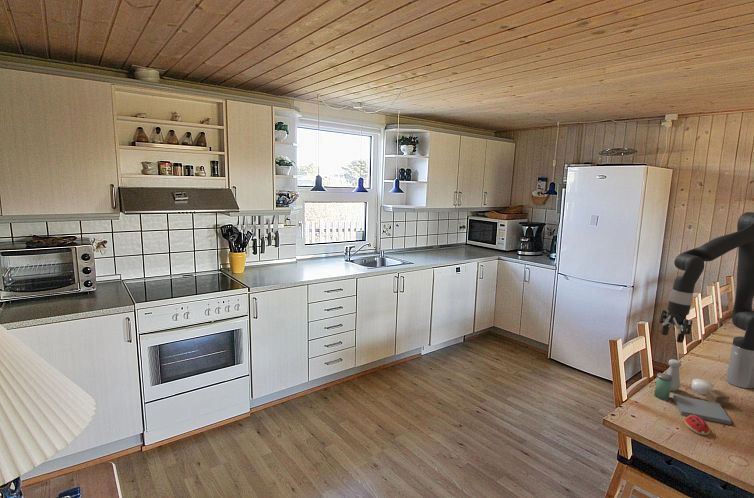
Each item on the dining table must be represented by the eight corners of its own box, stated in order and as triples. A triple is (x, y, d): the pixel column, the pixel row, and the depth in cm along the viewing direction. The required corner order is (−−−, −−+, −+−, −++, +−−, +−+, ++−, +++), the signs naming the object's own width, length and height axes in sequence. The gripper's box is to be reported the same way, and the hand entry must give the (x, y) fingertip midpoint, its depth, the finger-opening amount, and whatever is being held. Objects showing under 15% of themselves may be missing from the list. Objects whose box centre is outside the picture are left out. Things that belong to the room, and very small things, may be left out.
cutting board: (718, 406, 163) (719, 403, 163) (730, 424, 151) (731, 421, 151) (672, 398, 169) (673, 394, 169) (681, 414, 157) (681, 411, 157)
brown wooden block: (718, 399, 169) (720, 390, 168) (727, 406, 164) (729, 397, 163) (705, 399, 169) (707, 390, 168) (714, 405, 164) (716, 396, 163)
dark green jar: (667, 395, 171) (670, 374, 170) (670, 401, 167) (673, 380, 165) (652, 392, 173) (655, 371, 172) (655, 398, 169) (658, 377, 167)
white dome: (709, 389, 177) (710, 380, 176) (714, 397, 170) (716, 388, 170) (689, 385, 179) (690, 377, 179) (693, 393, 173) (695, 384, 172)
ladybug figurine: (699, 422, 153) (701, 413, 153) (715, 438, 144) (716, 429, 143) (679, 419, 155) (680, 410, 154) (693, 435, 145) (694, 426, 144)
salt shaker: (676, 387, 178) (681, 358, 176) (681, 393, 173) (686, 364, 170) (660, 384, 180) (665, 356, 177) (665, 391, 174) (669, 362, 172)
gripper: (702, 307, 166) (693, 345, 168) (675, 297, 180) (667, 333, 182) (684, 305, 165) (675, 344, 168) (659, 296, 179) (651, 331, 182)
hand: (671, 338), depth 175 cm, fingers open, 8 cm apart
